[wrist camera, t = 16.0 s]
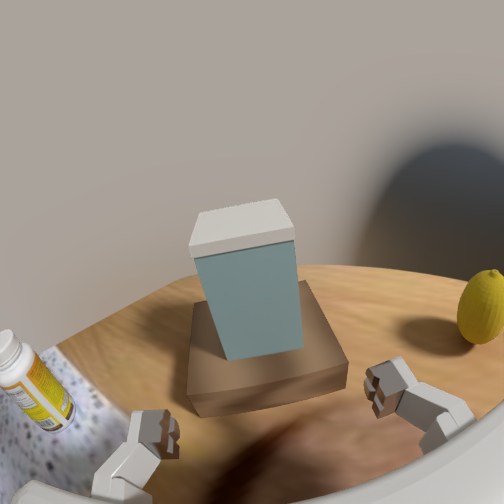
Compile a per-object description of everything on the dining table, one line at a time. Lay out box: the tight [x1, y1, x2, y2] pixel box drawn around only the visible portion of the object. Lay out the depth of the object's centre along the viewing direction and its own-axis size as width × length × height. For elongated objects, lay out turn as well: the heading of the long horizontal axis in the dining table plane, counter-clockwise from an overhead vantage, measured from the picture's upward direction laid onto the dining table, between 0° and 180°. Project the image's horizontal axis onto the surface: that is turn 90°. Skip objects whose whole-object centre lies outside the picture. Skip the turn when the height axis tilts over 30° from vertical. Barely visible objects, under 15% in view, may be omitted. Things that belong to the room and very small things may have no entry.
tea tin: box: [188, 198, 304, 361], centre depth 21 cm, size 6×6×10 cm
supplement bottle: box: [0, 330, 75, 433], centre depth 16 cm, size 6×6×10 cm
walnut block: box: [186, 280, 349, 418], centre depth 24 cm, size 12×12×4 cm
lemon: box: [457, 270, 504, 344], centre depth 17 cm, size 6×6×8 cm
